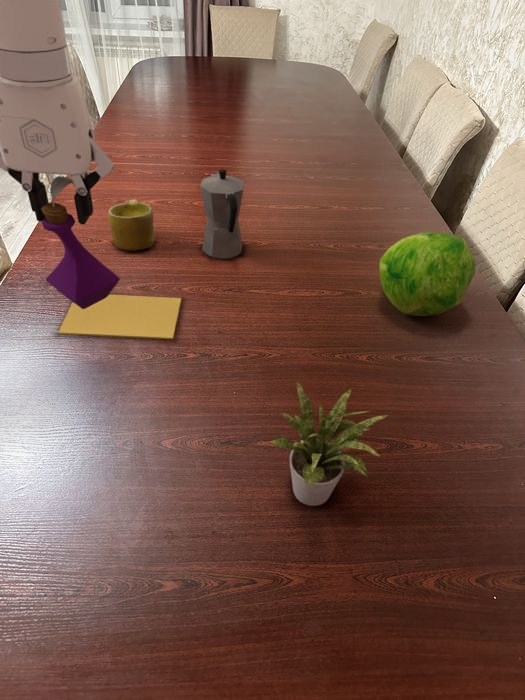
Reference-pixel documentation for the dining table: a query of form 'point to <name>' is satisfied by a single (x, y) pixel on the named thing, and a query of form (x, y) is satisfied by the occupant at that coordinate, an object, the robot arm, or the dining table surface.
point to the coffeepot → (222, 215)
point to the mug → (132, 225)
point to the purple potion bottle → (75, 257)
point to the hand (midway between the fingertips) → (64, 216)
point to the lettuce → (427, 273)
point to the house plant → (323, 448)
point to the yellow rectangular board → (124, 317)
